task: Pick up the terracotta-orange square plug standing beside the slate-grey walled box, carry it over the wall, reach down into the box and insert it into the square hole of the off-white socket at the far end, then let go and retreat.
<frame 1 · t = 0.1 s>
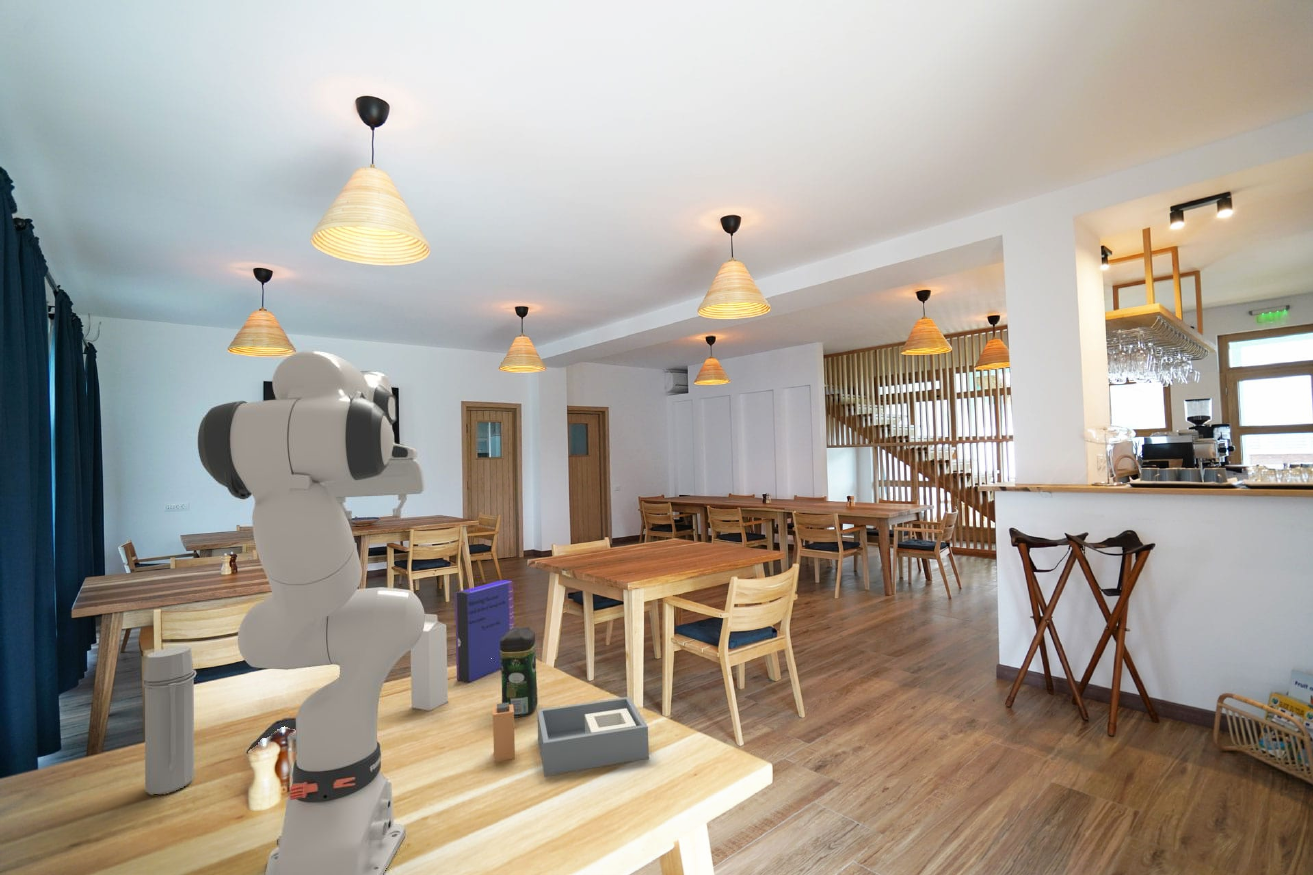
hand: (372, 518, 124), 48 cm above the table, fingers open, 8 cm apart
coffee jar: (519, 710, 142), on the table
water bottle: (170, 789, 112), on the table
plug: (504, 755, 120), on the table
socket: (610, 739, 123), resting on bin
milk: (430, 705, 147), on the table
bin: (591, 747, 122), on the table
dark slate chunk: (313, 740, 131), on the table
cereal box: (487, 672, 170), on the table
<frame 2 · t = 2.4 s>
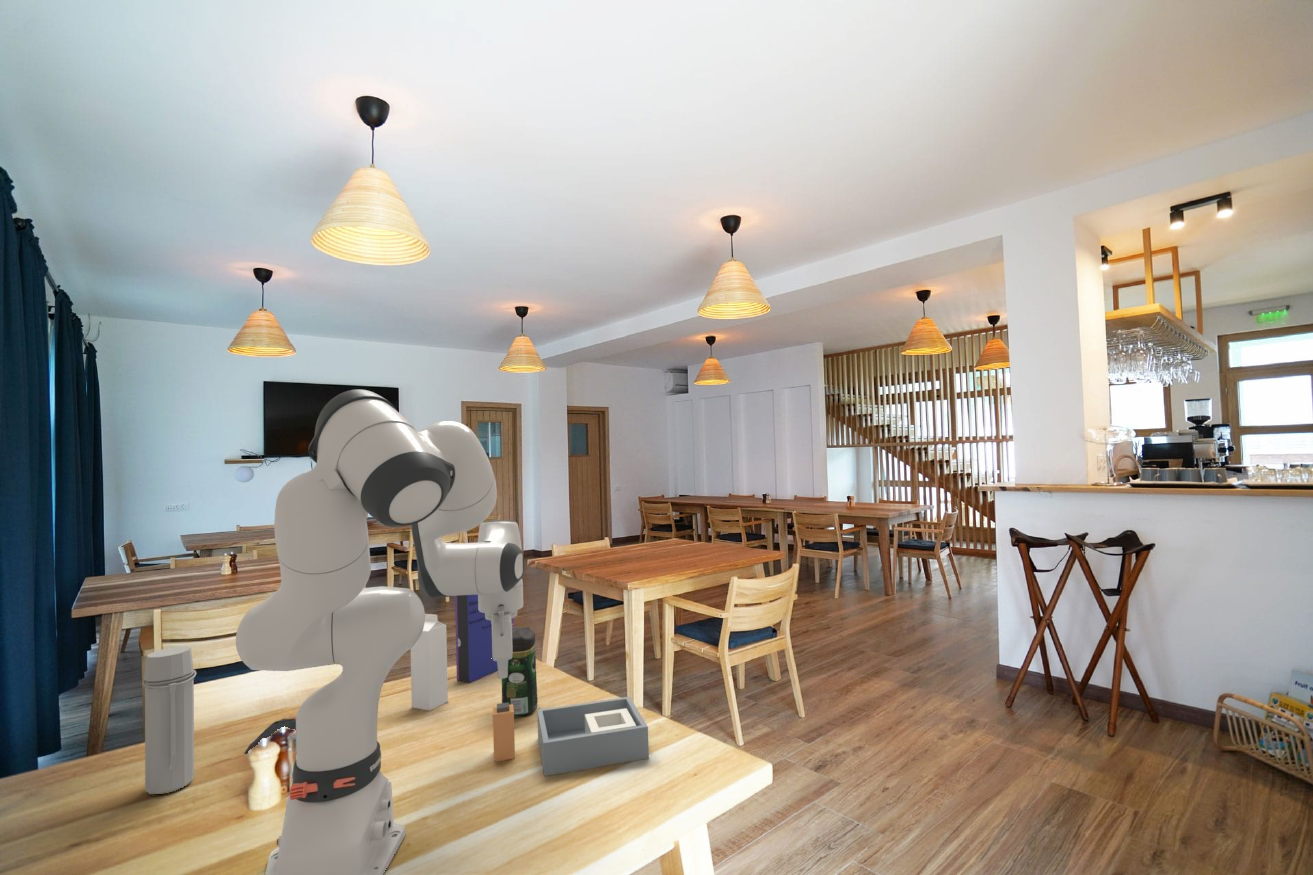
hand: (502, 668, 121), 17 cm above the table, fingers open, 8 cm apart
nothing on the table moved.
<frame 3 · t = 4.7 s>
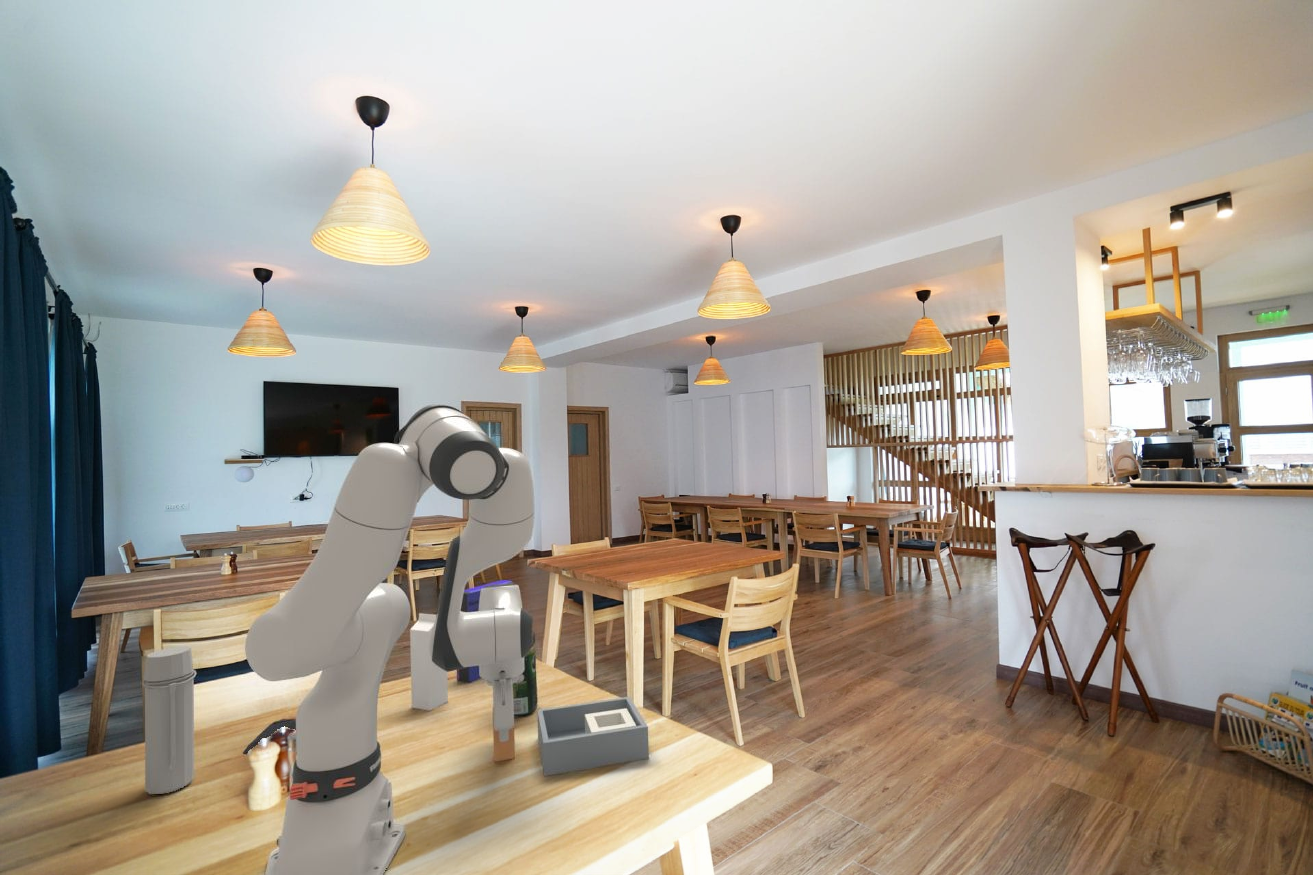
hand: (503, 733, 120), 4 cm above the table, fingers closed on plug, 4 cm apart
plug: (504, 755, 120), on the table, touching gripper
everything else where it was.
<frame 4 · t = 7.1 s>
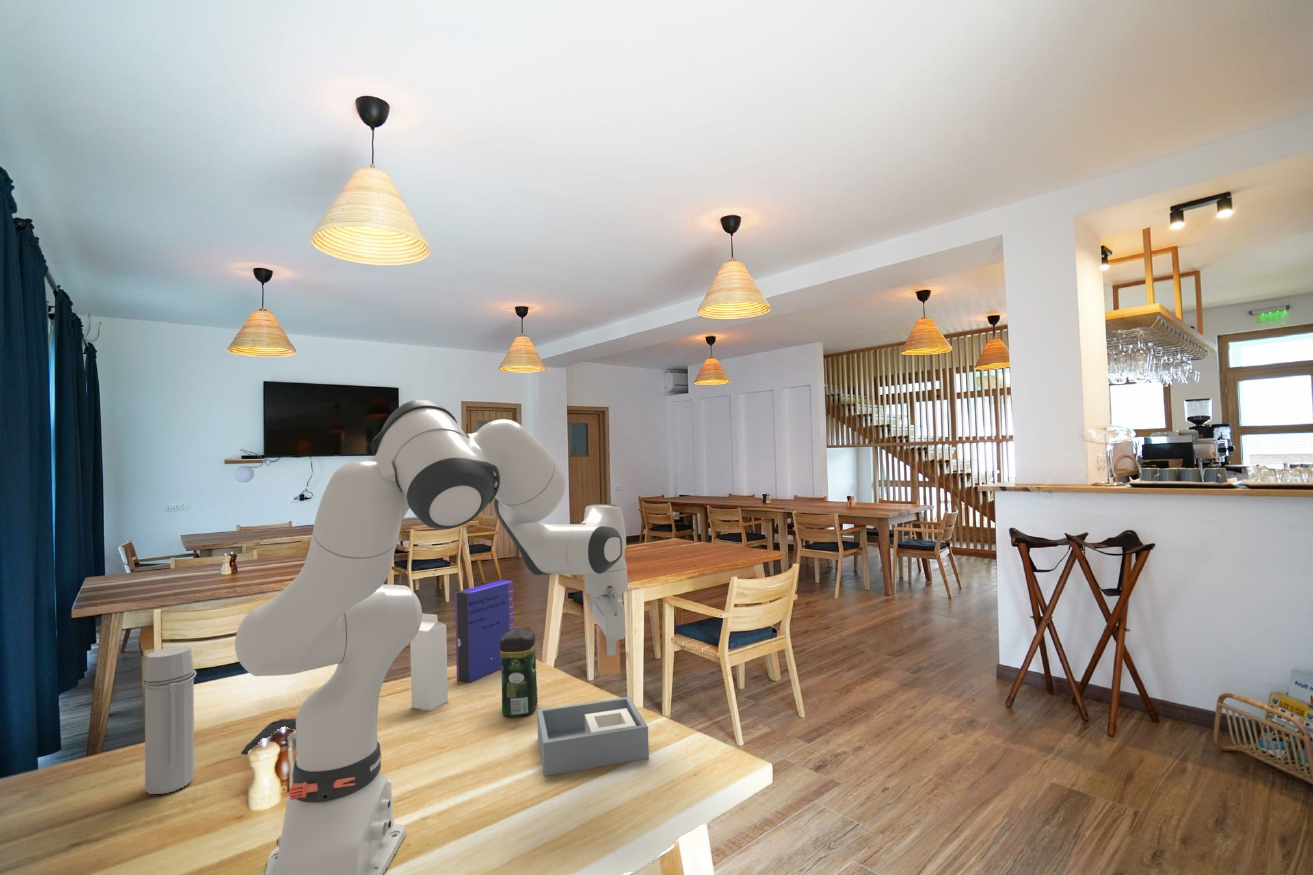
hand: (608, 650, 123), 19 cm above the table, fingers closed on plug, 4 cm apart
plug: (608, 671, 123), point 15 cm above the table, touching gripper
everything else where it was.
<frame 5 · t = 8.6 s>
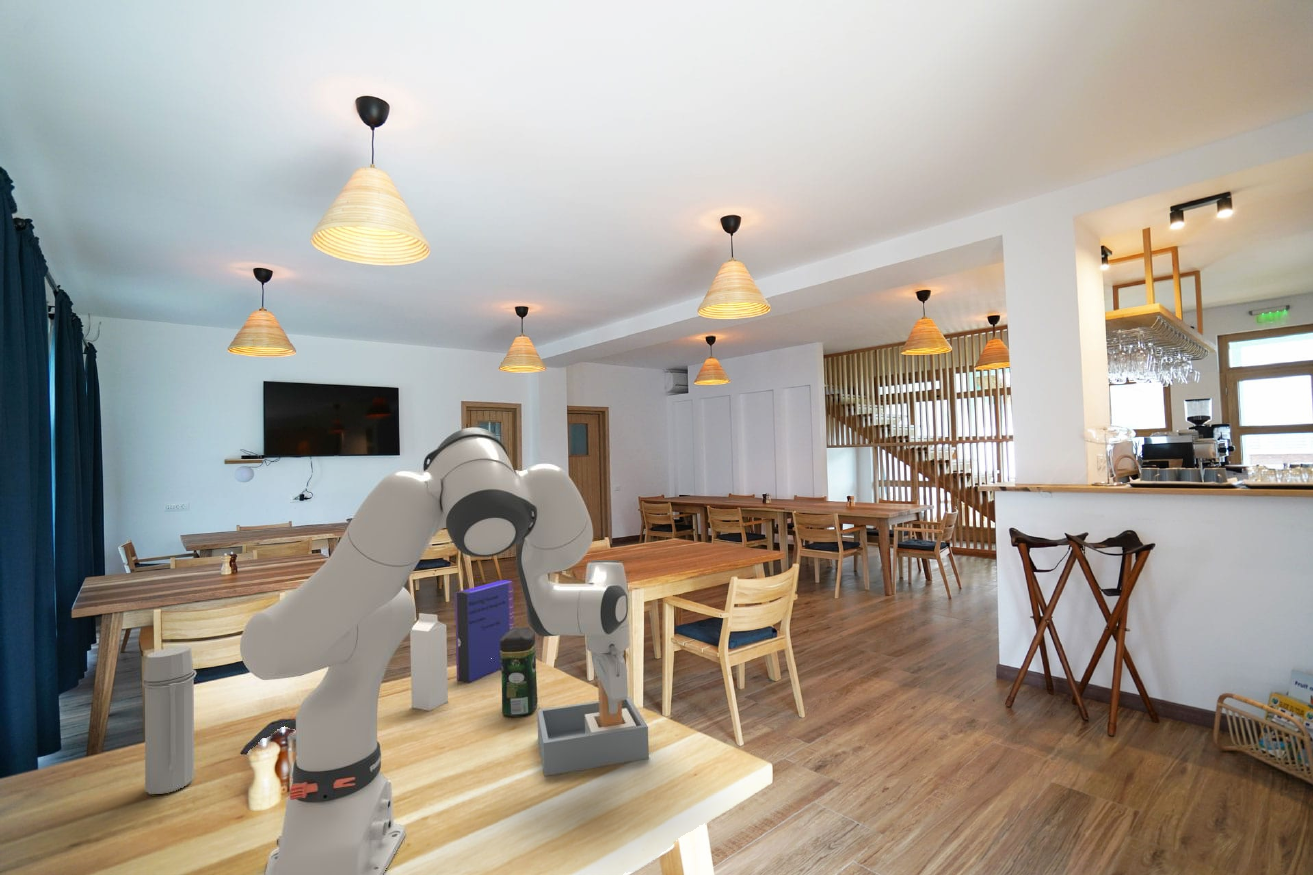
hand: (610, 707, 123), 8 cm above the table, fingers closed on plug, 4 cm apart
plug: (610, 727, 123), point 4 cm above the table, touching gripper
when the fingers open (6 cm above the table, at t = 9.7 s): plug stays where it is, resting on bin.
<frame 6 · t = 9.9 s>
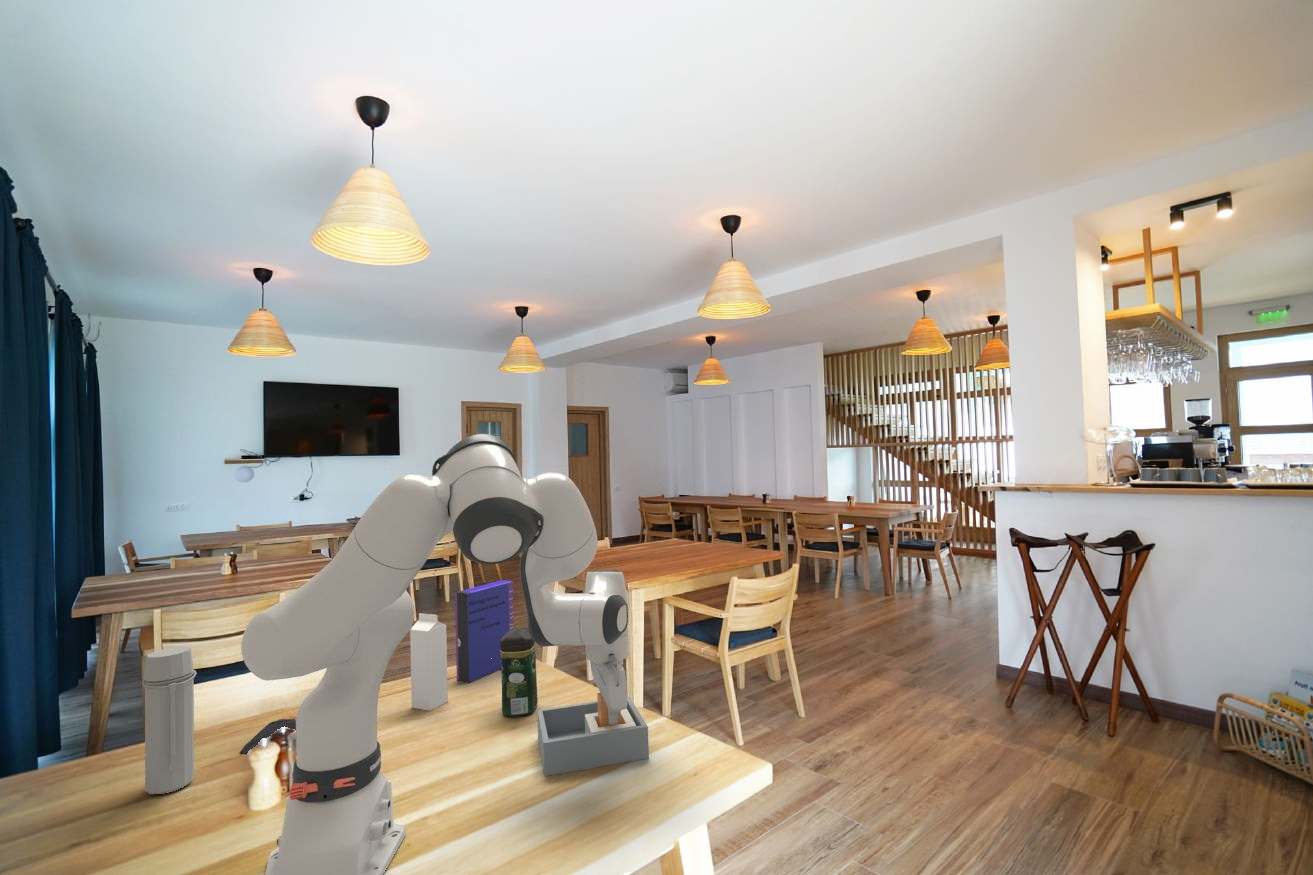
hand: (609, 715, 123), 6 cm above the table, fingers open, 5 cm apart
plug: (610, 739, 123), point 1 cm above the table, touching bin
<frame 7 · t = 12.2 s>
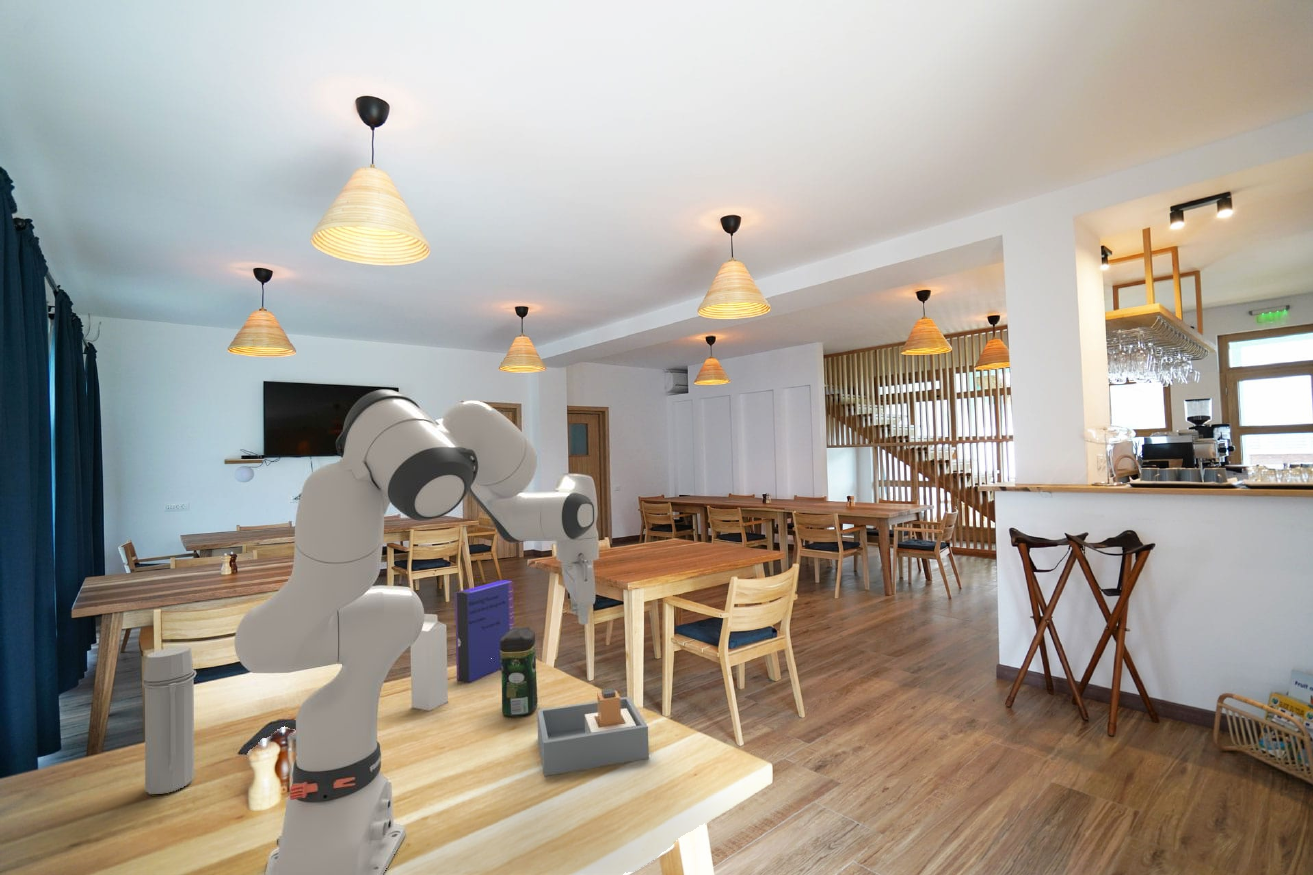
hand: (579, 618, 125), 26 cm above the table, fingers open, 8 cm apart
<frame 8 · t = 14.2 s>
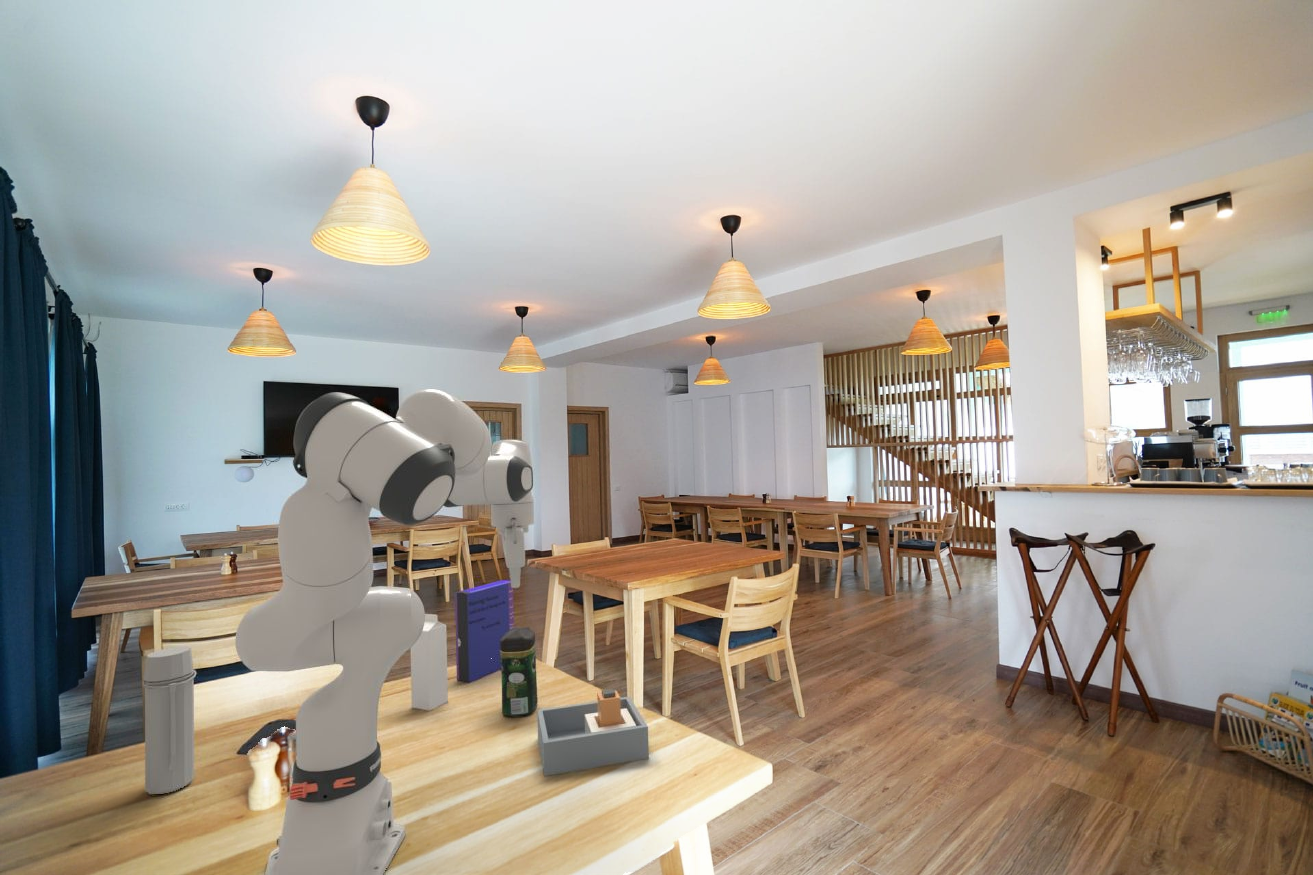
hand: (514, 582, 126), 33 cm above the table, fingers open, 8 cm apart
at the end: plug 0.1 cm off-centre on the socket, point 0.0 cm above the socket's base; plug tilted 0°; the gripper is holding nothing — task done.
